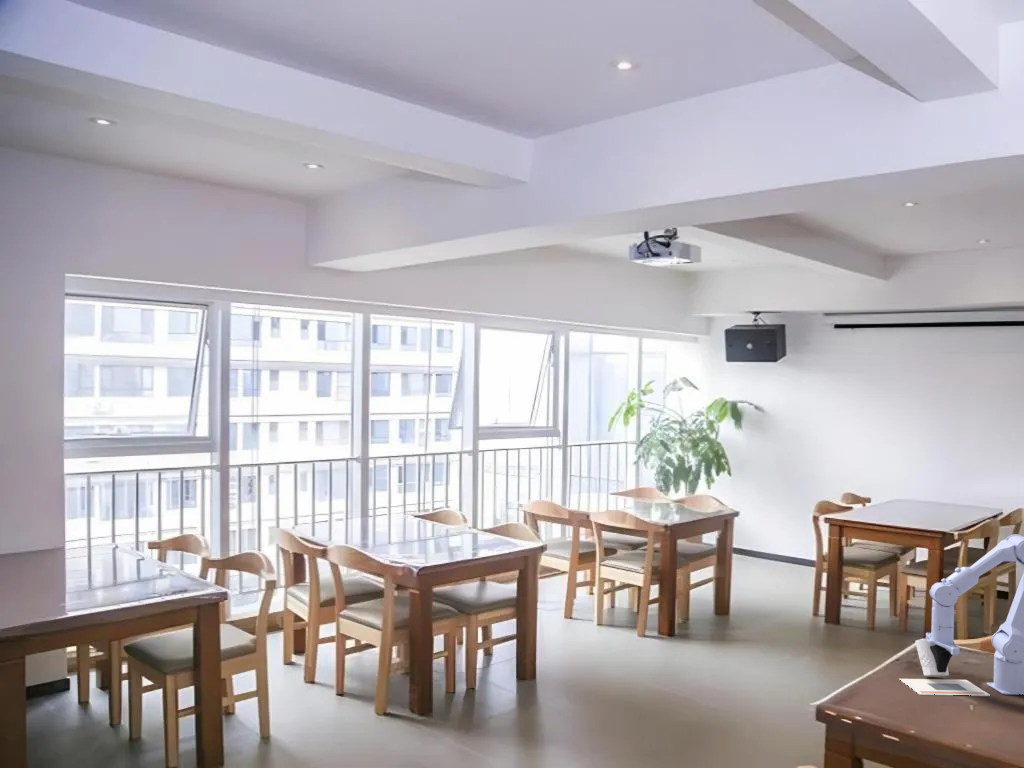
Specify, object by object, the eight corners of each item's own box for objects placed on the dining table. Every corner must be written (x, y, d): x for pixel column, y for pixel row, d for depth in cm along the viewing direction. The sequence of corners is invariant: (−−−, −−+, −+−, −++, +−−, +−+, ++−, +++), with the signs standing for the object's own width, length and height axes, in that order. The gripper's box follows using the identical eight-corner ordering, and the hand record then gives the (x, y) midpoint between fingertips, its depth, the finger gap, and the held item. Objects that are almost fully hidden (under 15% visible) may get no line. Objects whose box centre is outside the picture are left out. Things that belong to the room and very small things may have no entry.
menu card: (966, 680, 237) (966, 679, 237) (990, 696, 225) (990, 695, 225) (898, 679, 237) (898, 678, 237) (919, 694, 225) (919, 694, 225)
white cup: (956, 674, 234) (949, 638, 237) (929, 674, 234) (922, 638, 238) (943, 676, 241) (936, 641, 245) (916, 676, 241) (910, 641, 245)
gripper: (916, 617, 242) (915, 663, 242) (942, 632, 227) (941, 680, 227) (939, 618, 242) (938, 663, 242) (967, 632, 227) (966, 681, 227)
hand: (941, 671), depth 234 cm, fingers closed
